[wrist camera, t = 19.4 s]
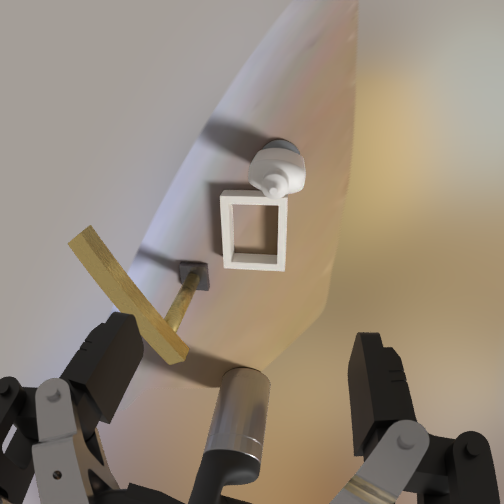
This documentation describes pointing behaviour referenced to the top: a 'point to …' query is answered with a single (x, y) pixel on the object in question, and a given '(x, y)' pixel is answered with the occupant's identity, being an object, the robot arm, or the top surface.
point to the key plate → (196, 269)
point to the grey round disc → (282, 145)
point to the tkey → (136, 296)
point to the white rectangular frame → (226, 208)
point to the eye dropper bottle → (277, 172)
